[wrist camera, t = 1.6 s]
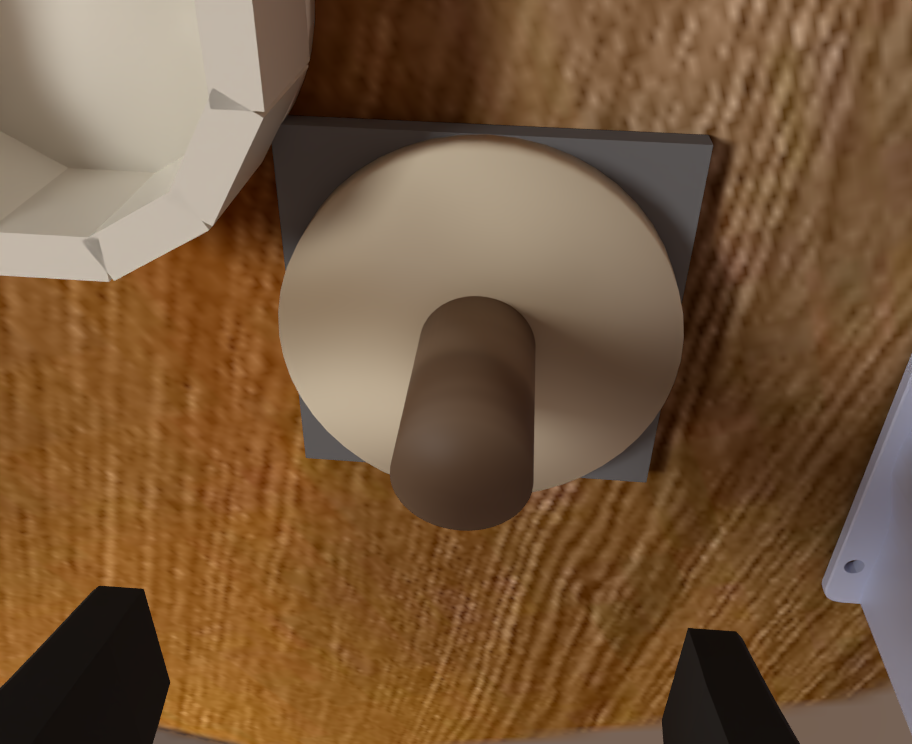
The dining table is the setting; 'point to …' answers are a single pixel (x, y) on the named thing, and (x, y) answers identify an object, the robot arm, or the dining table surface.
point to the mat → (611, 152)
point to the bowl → (135, 123)
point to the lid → (481, 322)
